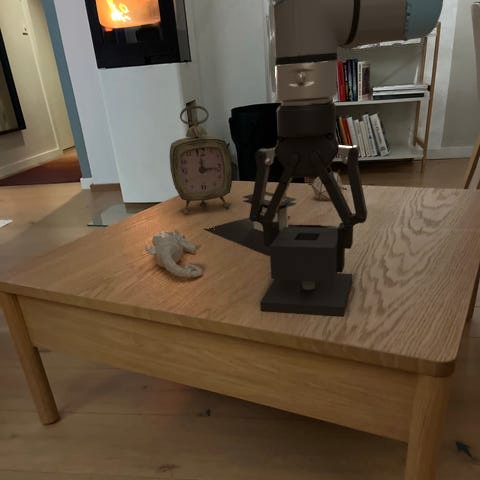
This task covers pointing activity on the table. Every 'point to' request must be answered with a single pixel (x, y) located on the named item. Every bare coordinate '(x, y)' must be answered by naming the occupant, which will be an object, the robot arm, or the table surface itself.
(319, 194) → the game die
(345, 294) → the base pad
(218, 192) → the tabletop clock
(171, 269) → the seahorse
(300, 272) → the black square block
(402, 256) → the table surface
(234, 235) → the architectural model
